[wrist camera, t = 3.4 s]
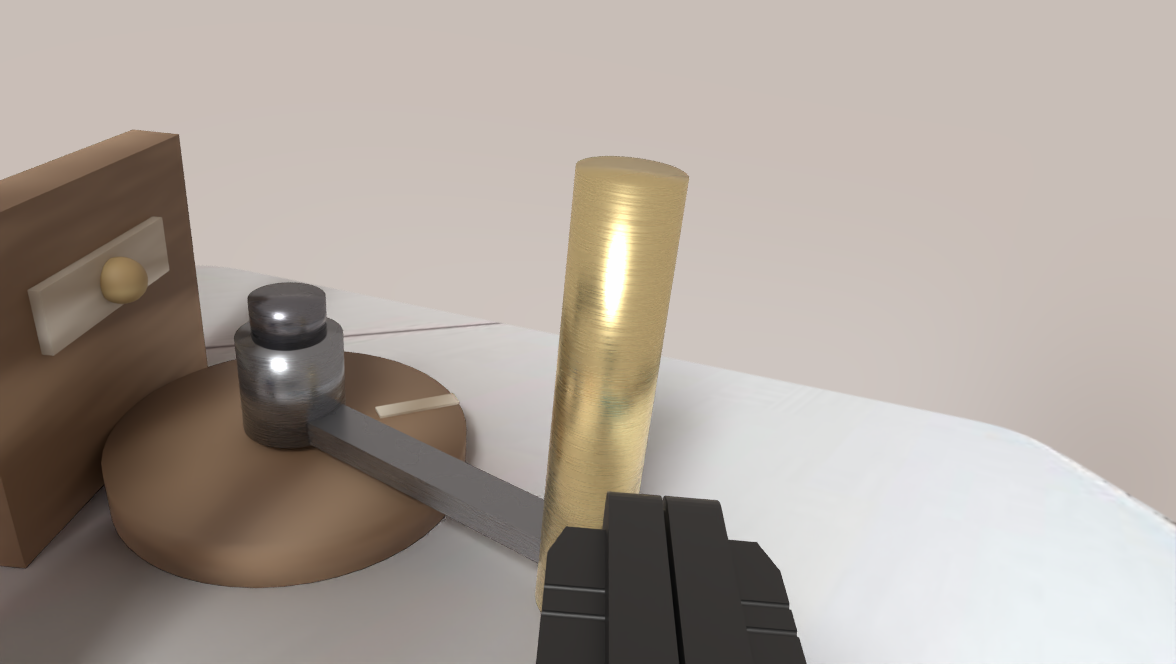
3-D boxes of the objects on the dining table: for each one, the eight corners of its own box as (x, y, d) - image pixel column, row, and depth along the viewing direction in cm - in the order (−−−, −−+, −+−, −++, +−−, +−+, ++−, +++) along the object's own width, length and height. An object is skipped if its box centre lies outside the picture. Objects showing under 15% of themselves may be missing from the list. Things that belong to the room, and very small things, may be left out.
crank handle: (225, 452, 33) (180, 76, 26) (302, 412, 36) (279, 68, 29) (585, 655, 25) (648, 198, 19) (643, 582, 28) (714, 170, 22)
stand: (-34, 562, 27) (-137, 232, 22) (168, 369, 40) (132, 129, 35) (430, 604, 28) (435, 290, 23) (485, 400, 40) (497, 167, 35)
